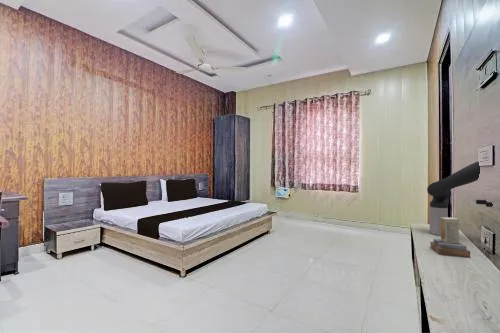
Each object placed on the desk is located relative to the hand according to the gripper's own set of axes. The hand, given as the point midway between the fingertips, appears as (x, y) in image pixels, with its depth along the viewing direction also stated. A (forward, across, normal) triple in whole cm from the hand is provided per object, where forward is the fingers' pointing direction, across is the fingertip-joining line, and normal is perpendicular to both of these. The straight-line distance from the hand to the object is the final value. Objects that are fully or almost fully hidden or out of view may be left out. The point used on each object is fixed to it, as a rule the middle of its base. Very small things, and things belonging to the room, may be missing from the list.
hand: (481, 203), depth 125 cm
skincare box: (+15, +6, +20) cm, 26 cm away
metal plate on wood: (+15, +6, +25) cm, 30 cm away
